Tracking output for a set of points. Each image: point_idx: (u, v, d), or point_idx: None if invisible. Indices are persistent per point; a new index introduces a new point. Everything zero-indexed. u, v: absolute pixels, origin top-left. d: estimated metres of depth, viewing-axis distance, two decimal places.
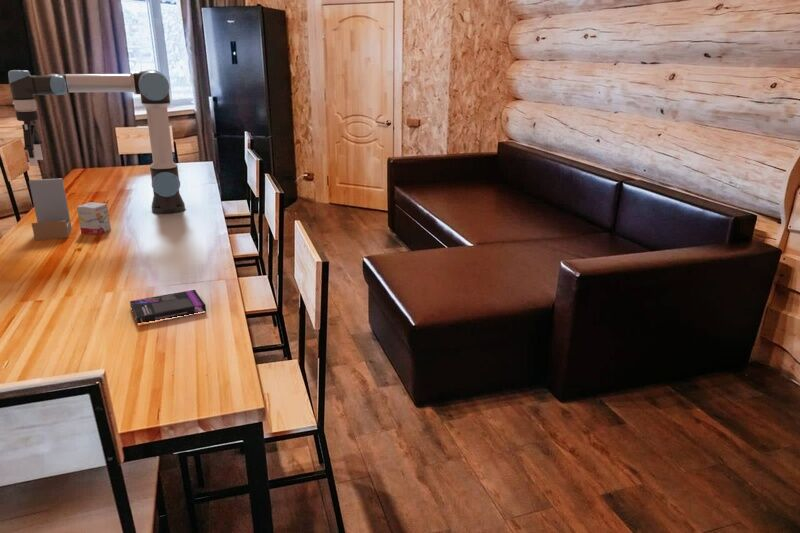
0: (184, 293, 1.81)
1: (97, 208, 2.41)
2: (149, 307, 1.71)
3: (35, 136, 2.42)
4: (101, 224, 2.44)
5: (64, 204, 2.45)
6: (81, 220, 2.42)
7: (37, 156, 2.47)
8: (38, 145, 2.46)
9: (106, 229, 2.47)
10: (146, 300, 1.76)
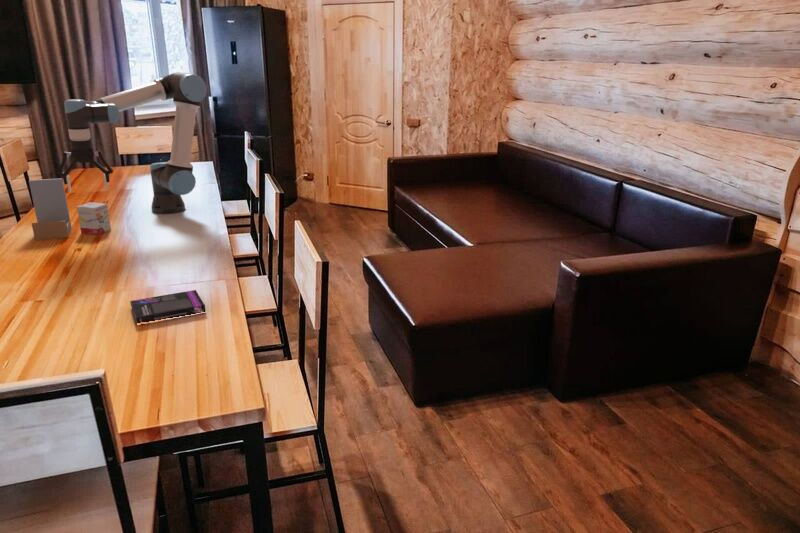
0: (185, 294, 1.81)
1: (97, 208, 2.41)
2: (149, 307, 1.71)
3: (96, 166, 2.38)
4: (101, 224, 2.44)
5: (64, 204, 2.45)
6: (81, 220, 2.42)
7: (105, 186, 2.43)
8: None
9: (106, 229, 2.47)
10: (146, 300, 1.76)
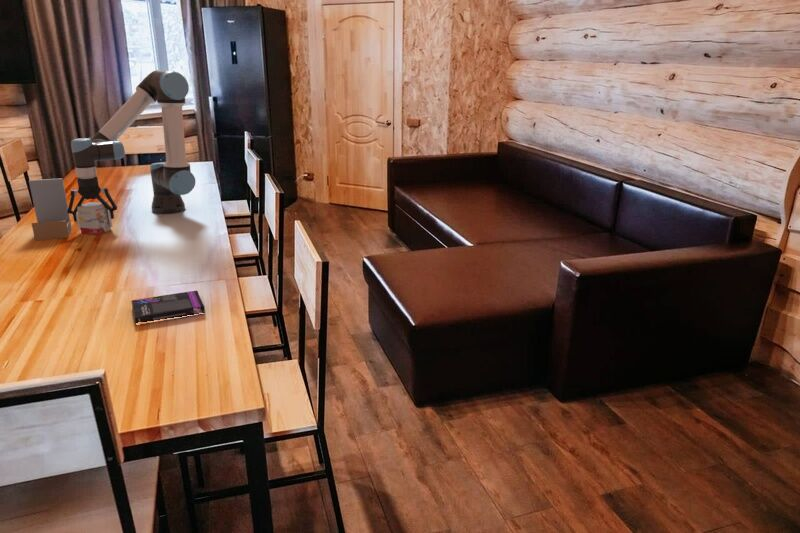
0: (186, 294, 1.81)
1: (97, 208, 2.41)
2: (149, 307, 1.71)
3: None
4: (101, 224, 2.44)
5: (64, 204, 2.45)
6: (81, 220, 2.42)
7: None
8: (108, 213, 2.46)
9: (106, 229, 2.47)
10: (147, 299, 1.76)
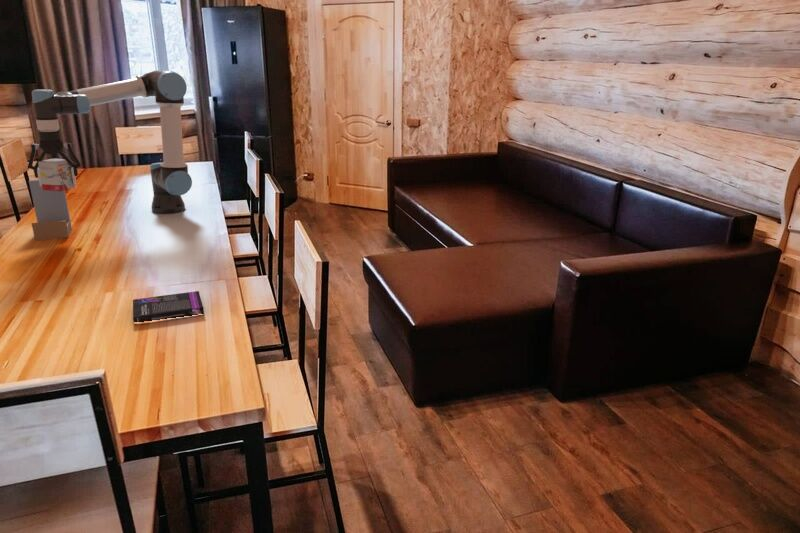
0: (187, 294, 1.80)
1: (60, 163, 2.30)
2: (149, 307, 1.71)
3: (65, 159, 2.34)
4: (64, 181, 2.33)
5: (64, 204, 2.45)
6: (43, 175, 2.31)
7: None
8: (71, 169, 2.36)
9: (69, 186, 2.37)
10: (148, 299, 1.77)
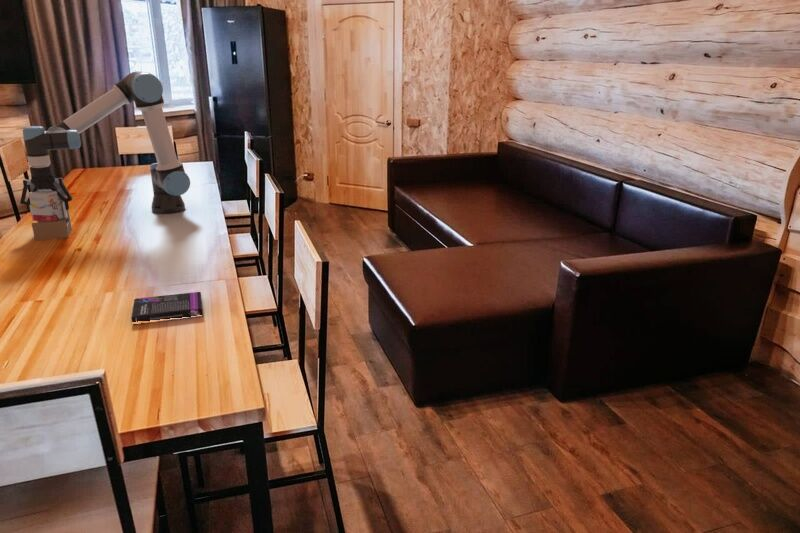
0: (188, 295, 1.80)
1: (50, 194, 2.33)
2: (148, 306, 1.72)
3: None
4: (55, 211, 2.36)
5: None
6: (33, 206, 2.34)
7: None
8: None
9: (60, 216, 2.40)
10: (149, 299, 1.77)
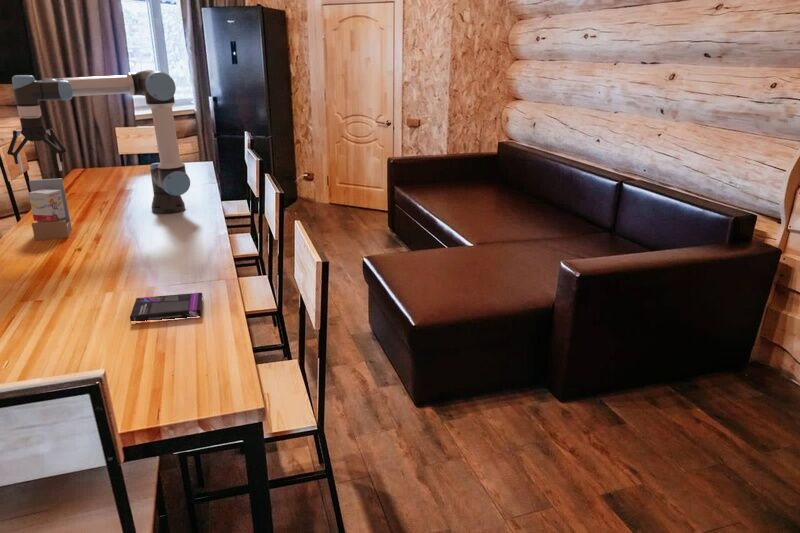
0: (189, 296, 1.80)
1: (50, 194, 2.33)
2: (148, 306, 1.72)
3: None
4: (55, 211, 2.36)
5: (64, 204, 2.45)
6: (33, 206, 2.34)
7: (59, 166, 2.35)
8: None
9: (60, 216, 2.40)
10: (150, 298, 1.77)
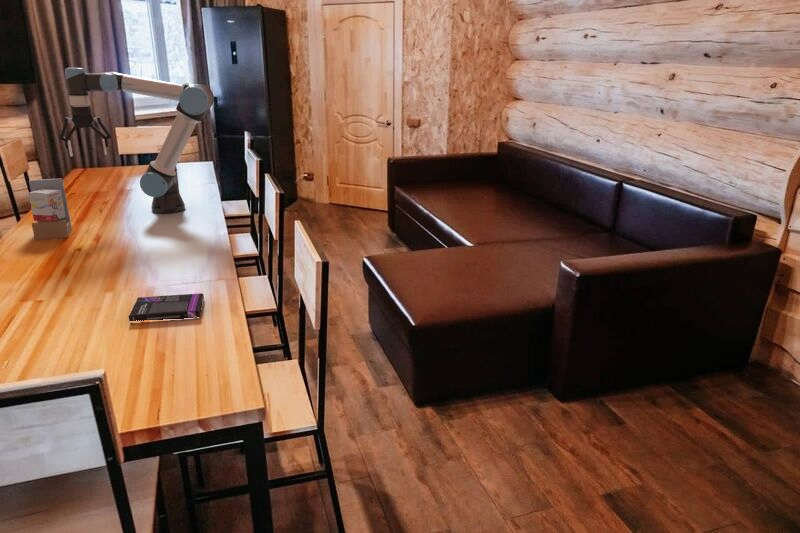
0: (189, 296, 1.79)
1: (50, 194, 2.33)
2: (148, 306, 1.72)
3: (96, 131, 2.53)
4: (55, 211, 2.36)
5: (64, 204, 2.45)
6: (33, 206, 2.34)
7: None
8: None
9: (60, 216, 2.40)
10: (151, 298, 1.77)
